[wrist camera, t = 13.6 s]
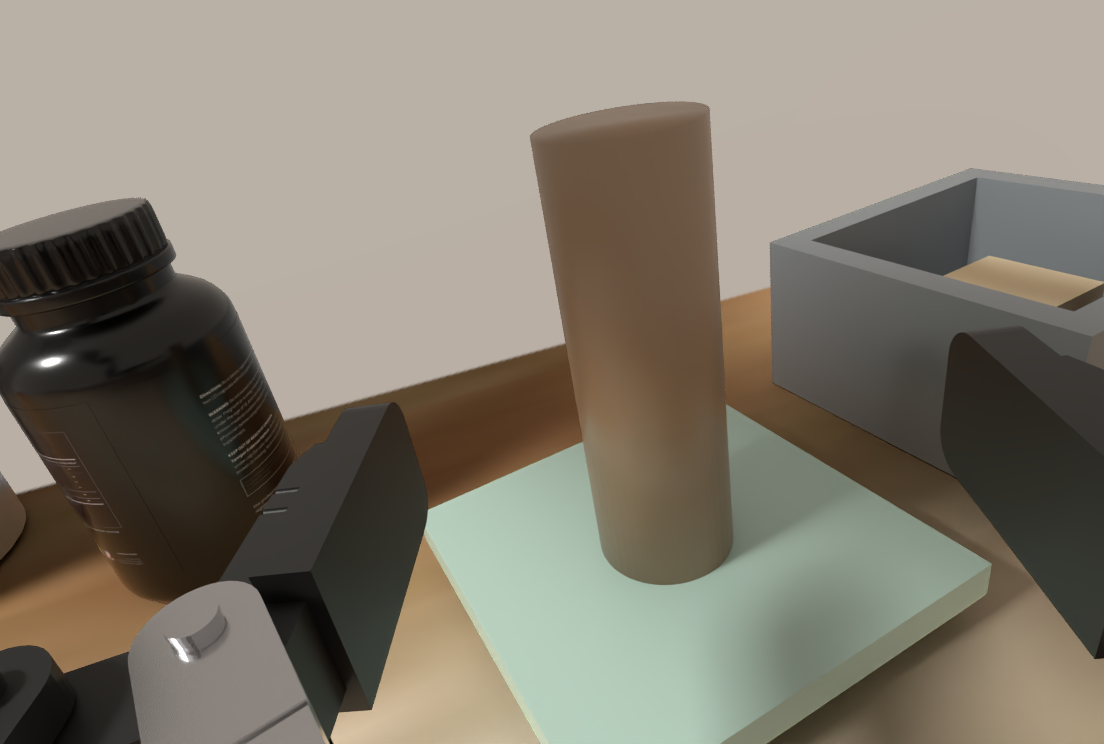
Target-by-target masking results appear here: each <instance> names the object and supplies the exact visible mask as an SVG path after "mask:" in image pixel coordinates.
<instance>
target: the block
mask: <svg viewBox="0 0 1104 744" xmlns="http://www.w3.org/2000/svg"><path fill="white" fill-rule="evenodd" d="M944 277H948V278H952V279H955V280H959V281H963V282H966V283H970V284H974V285H978V286H981V287H985V288H989V289H992V290H996V291H1000V292H1003V293H1007V294H1011V295H1015V296H1018V297H1022V298H1026V299H1029V300H1033V301H1037V302H1040V303H1044V304H1048V305H1052V306H1055V307H1059V308H1063V309H1066V310H1070V311H1076V310H1078V309H1080V308H1082V307H1084V306H1086V305H1088V304H1090V303H1092V302H1094V301H1096V300H1098V299H1100V298H1102V296H1103V291H1104V282H1102V281H1097V280H1093V279H1089V278H1084V277H1080V276H1076V275H1071V274H1067V273H1063V272H1058V271H1054V270H1050V269H1045V268H1041V267H1037V266H1032V265H1028V264H1024V263H1019V262H1015V261H1010V260H1006V259H1002V258H997V257H993V256H987V257H985V258H983V259H981V260H978V261H976V262H974V263H971V264H969V265H967V266H965V267H962V268H960V269H958V270H955V271H953V272H951V273H949V274H946V275H944Z"/></svg>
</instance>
